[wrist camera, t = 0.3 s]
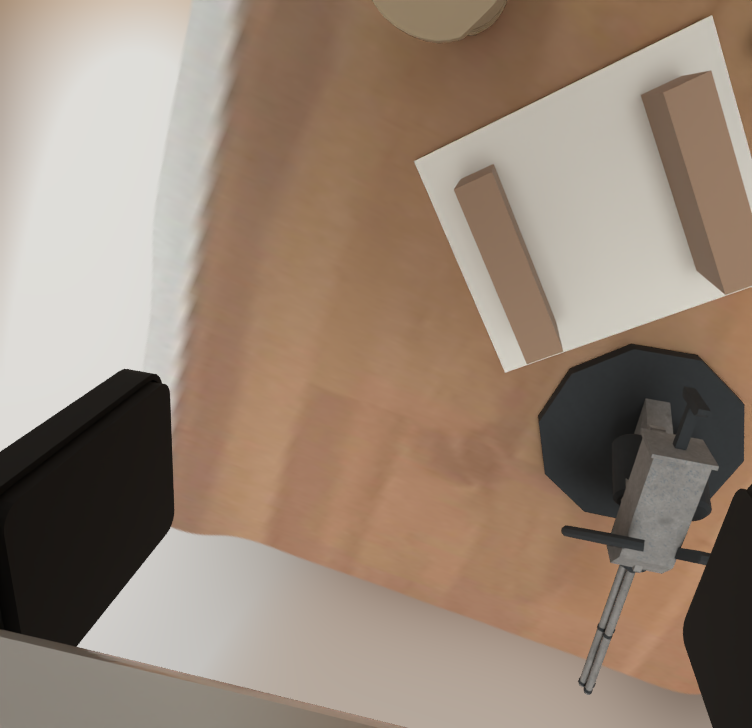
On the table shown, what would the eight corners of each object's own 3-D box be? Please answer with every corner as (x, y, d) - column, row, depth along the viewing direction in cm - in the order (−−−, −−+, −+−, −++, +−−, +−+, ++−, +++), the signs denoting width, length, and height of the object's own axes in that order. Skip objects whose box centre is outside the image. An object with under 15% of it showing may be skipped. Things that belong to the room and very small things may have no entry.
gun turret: (500, 567, 46) (498, 723, 34) (562, 316, 38) (588, 408, 26) (675, 606, 44) (736, 784, 33) (779, 352, 36) (909, 467, 25)
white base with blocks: (704, 18, 31) (749, -2, 25) (775, 270, 35) (827, 301, 29) (416, 159, 36) (400, 169, 31) (505, 365, 40) (505, 407, 34)
